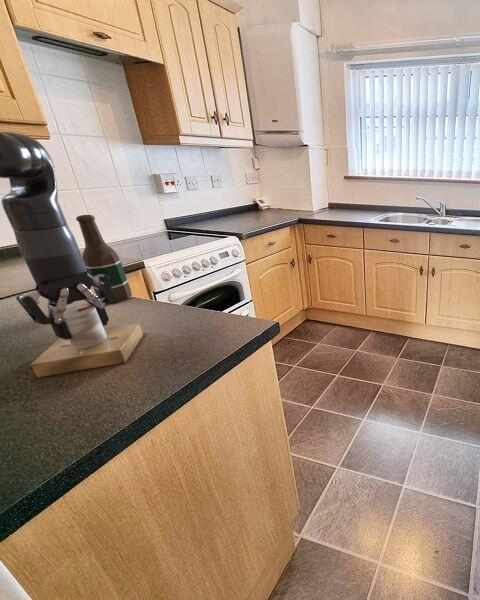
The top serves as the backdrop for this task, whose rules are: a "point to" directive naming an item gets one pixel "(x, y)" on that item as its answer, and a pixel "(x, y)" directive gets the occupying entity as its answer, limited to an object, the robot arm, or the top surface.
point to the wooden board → (89, 352)
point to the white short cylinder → (84, 327)
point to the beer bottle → (102, 260)
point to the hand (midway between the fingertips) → (85, 331)
